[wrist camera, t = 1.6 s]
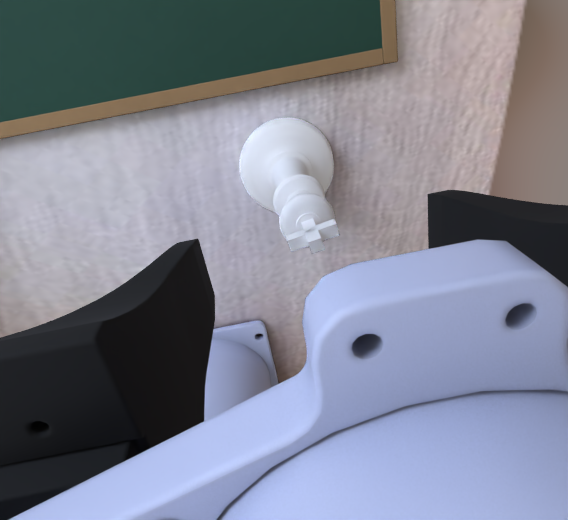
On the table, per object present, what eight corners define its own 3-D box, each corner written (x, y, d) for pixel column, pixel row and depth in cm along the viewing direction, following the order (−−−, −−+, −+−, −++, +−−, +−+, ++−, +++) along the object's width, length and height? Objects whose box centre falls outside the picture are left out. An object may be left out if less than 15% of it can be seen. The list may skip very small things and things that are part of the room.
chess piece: (224, 137, 21) (211, 201, 12) (317, 102, 21) (374, 143, 12) (258, 223, 23) (269, 330, 14) (343, 192, 23) (407, 284, 14)
